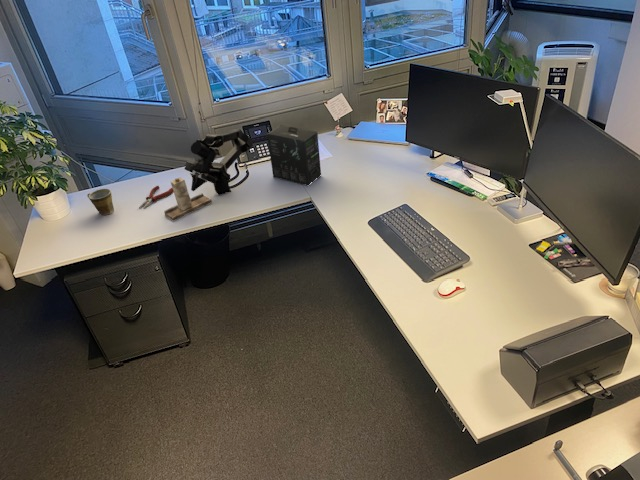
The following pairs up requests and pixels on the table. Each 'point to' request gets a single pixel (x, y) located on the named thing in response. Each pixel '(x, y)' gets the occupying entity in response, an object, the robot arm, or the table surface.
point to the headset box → (294, 154)
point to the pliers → (155, 198)
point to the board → (196, 202)
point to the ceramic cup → (102, 201)
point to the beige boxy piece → (181, 193)
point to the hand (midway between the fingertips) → (192, 190)
